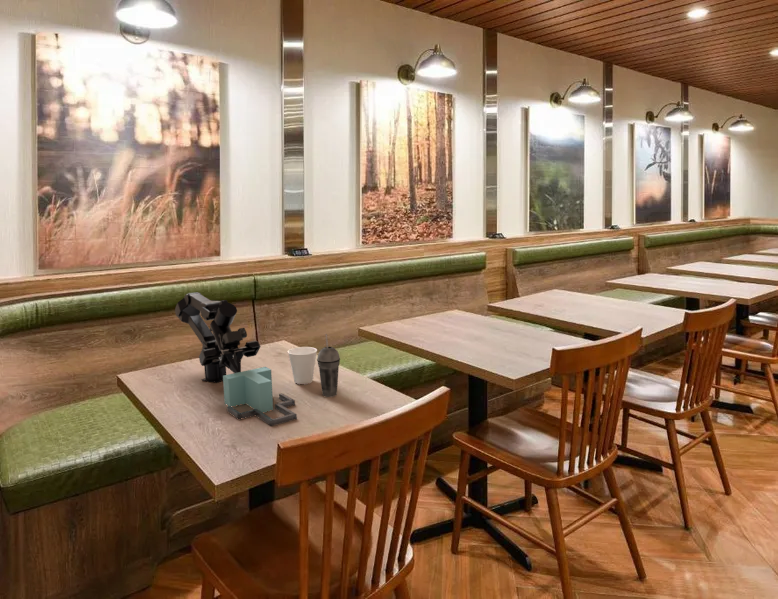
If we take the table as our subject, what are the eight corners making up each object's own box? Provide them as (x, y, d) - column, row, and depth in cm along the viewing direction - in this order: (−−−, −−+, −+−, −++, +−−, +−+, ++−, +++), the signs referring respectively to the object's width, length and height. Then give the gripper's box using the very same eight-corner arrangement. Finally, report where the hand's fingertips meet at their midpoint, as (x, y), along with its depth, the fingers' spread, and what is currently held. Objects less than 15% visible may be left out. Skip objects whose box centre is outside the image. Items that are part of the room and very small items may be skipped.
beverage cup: (344, 392, 186) (343, 331, 182) (335, 399, 179) (333, 336, 175) (324, 389, 188) (322, 329, 184) (314, 397, 181) (312, 335, 178)
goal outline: (227, 411, 170) (226, 406, 170) (282, 397, 181) (281, 393, 181) (254, 430, 156) (254, 425, 156) (312, 414, 167) (311, 409, 167)
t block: (224, 404, 176) (222, 375, 175) (266, 393, 185) (265, 366, 183) (244, 417, 166) (242, 387, 164) (288, 406, 174) (286, 377, 172)
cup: (312, 387, 190) (311, 355, 188) (284, 385, 192) (282, 353, 190) (322, 378, 200) (321, 347, 198) (294, 376, 202) (293, 346, 200)
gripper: (200, 324, 178) (216, 367, 171) (256, 316, 189) (273, 356, 183) (193, 344, 185) (208, 386, 179) (247, 335, 197) (263, 374, 190)
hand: (239, 375), depth 183 cm, fingers closed
